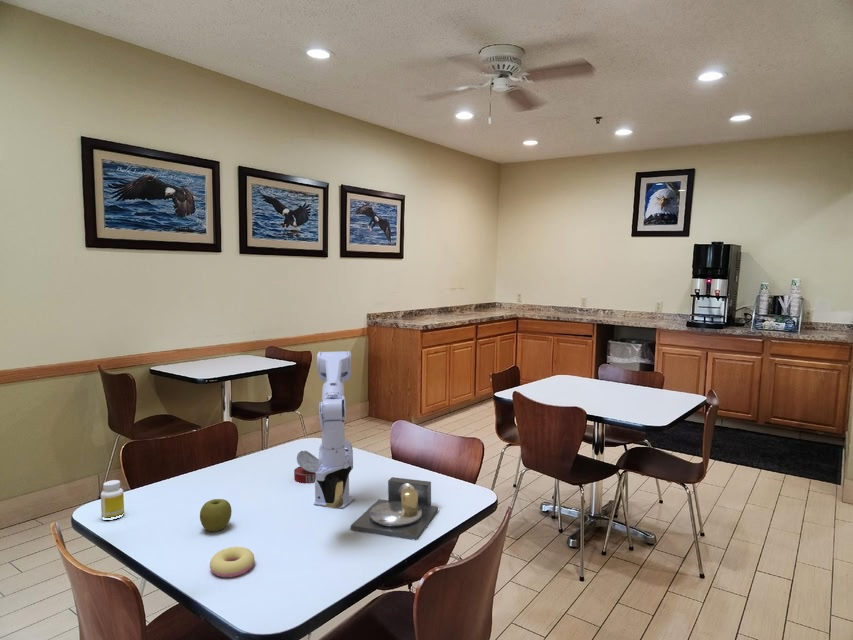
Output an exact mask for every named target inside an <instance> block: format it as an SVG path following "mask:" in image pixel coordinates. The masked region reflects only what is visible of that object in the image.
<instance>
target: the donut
mask: <svg viewBox="0 0 853 640" xmlns="http://www.w3.org/2000/svg"><path fill="white" fill-rule="evenodd" d="M254 564H255V555H254V553H253V551H252V550H250V549H249V548H247V547H244V546H231V547H226V548H223V549H222V550H219V551H217V552H216V553H215V554H214V555H213V556H212V558H210V562H209V568H210V571H211V573H212V574H214V575H215V576H218V577H219V578H220V577H221V578H234V577H239V576H241V575H243V574H246V573H247V572H249V570H251V568H252V567H253V565H254Z"/></svg>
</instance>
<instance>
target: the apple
mask: <svg viewBox="0 0 853 640" xmlns="http://www.w3.org/2000/svg"><path fill="white" fill-rule="evenodd" d="M232 512H233V511H232V506H231V503H230V502H229V501H228V500H226V499H224V498H223V499H222V498H215V499H210V500H208V501H206V502H205V503H204V504H203V505H202V507H201V509H200V512H199V520H200V523H201V526H202V527H203V528H204V529H205V530H206V531H207V532H211V531H212V532H213V533H215V531H216V532H219V531H221V530H223V529H224V528H226V527H227V526H228V524H229V522H230V521H231V517H232ZM212 532H211V533H212Z"/></svg>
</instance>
